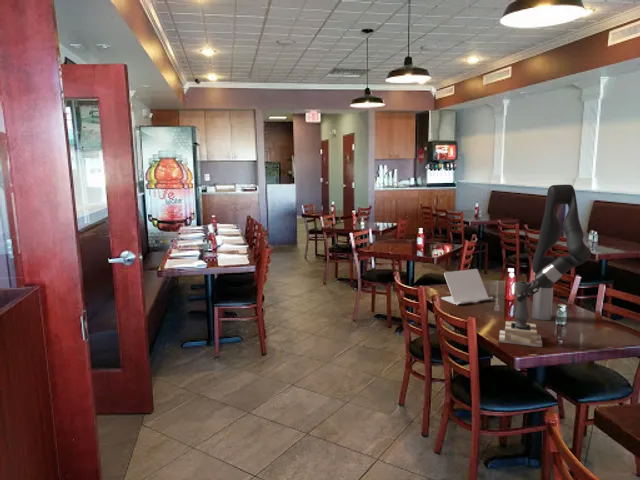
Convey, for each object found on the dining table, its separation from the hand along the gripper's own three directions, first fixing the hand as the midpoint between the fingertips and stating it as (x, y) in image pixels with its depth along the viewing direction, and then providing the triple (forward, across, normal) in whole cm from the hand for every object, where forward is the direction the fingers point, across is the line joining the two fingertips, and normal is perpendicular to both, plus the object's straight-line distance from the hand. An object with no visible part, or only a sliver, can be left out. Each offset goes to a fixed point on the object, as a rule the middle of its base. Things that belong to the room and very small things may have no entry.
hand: (518, 299), depth 220 cm
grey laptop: (+33, -60, -6) cm, 68 cm away
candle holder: (+11, 0, +14) cm, 18 cm away
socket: (+13, 0, +15) cm, 19 cm away
